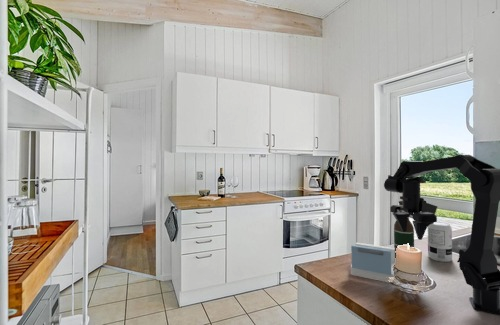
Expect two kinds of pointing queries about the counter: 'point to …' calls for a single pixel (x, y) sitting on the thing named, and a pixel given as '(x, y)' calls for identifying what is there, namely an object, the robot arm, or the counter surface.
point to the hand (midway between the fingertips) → (411, 235)
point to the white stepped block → (374, 274)
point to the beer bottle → (403, 233)
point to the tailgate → (371, 259)
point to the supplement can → (440, 242)
